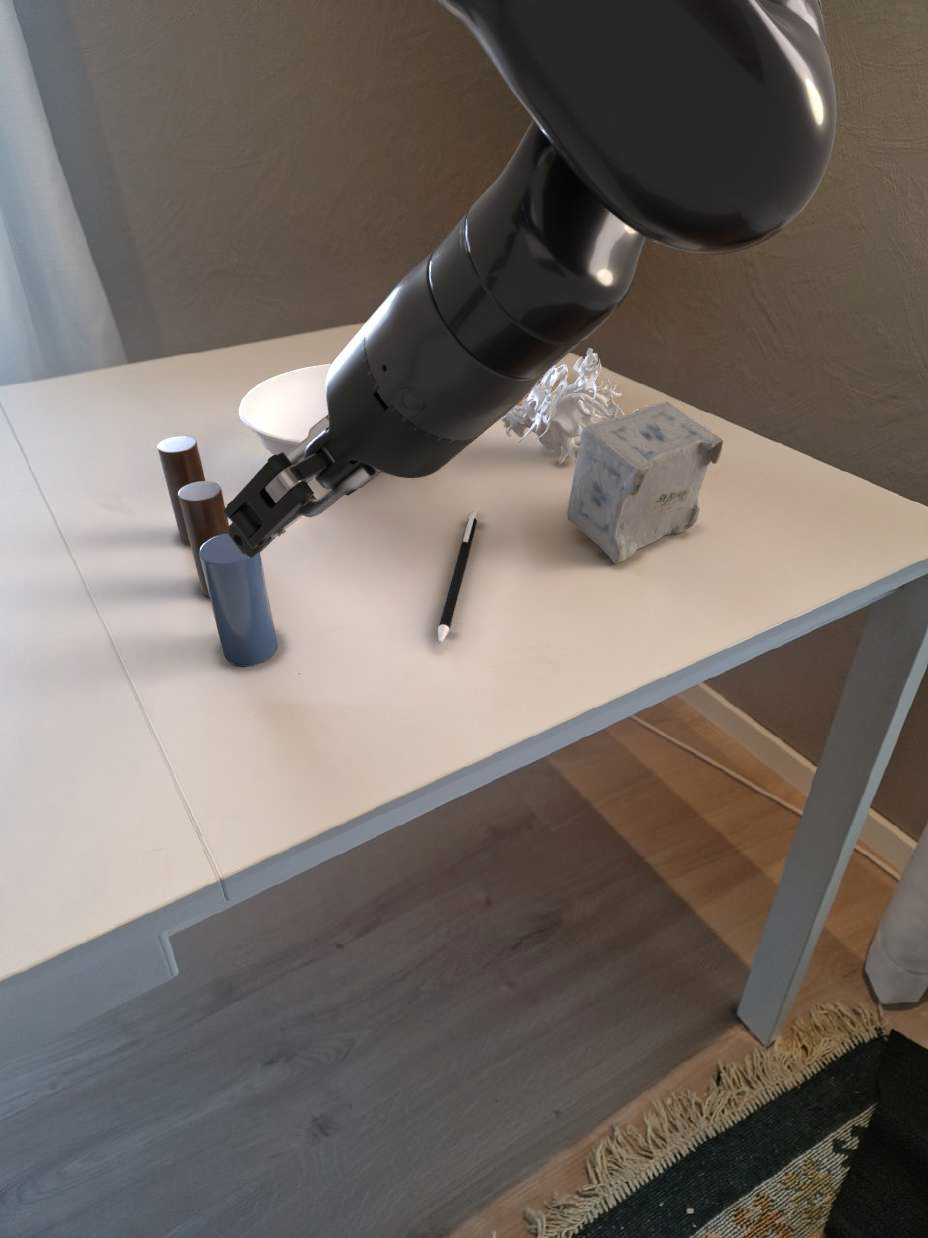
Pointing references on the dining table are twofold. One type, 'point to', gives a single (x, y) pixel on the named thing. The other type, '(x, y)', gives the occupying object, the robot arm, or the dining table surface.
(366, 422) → the robot arm
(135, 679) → the dining table surface
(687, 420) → the incense holder
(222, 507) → the pegs
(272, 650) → the cylinder
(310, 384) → the bowl
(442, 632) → the pen
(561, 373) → the figurine
